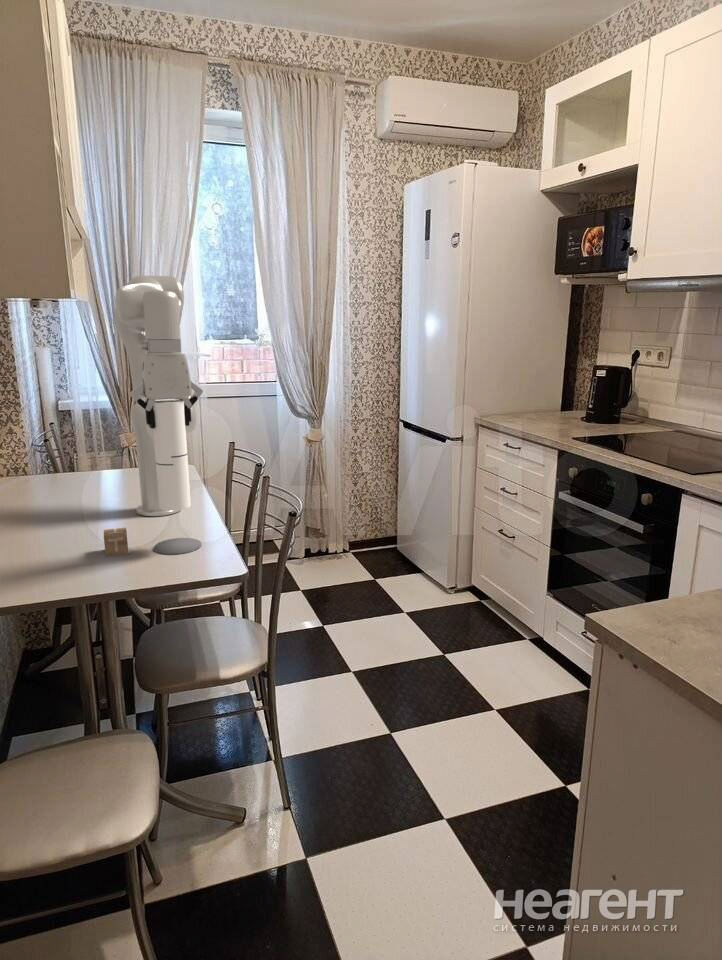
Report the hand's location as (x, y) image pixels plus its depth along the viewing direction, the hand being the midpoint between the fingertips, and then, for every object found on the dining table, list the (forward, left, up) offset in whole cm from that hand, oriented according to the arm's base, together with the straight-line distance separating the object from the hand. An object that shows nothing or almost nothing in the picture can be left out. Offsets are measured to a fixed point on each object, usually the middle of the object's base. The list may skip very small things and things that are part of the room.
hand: (169, 425), depth 147 cm
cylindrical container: (0, 0, -19) cm, 19 cm away
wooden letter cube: (+5, -13, -30) cm, 33 cm away
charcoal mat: (0, 0, -29) cm, 29 cm away
